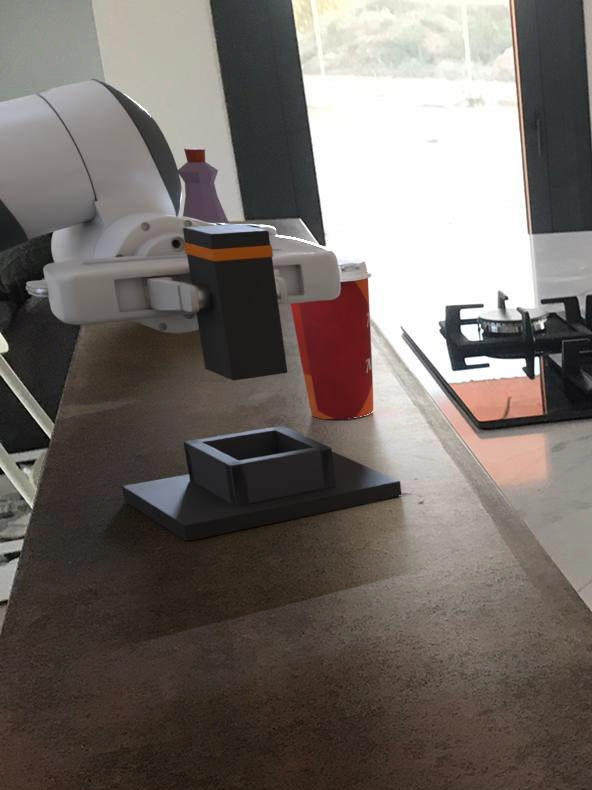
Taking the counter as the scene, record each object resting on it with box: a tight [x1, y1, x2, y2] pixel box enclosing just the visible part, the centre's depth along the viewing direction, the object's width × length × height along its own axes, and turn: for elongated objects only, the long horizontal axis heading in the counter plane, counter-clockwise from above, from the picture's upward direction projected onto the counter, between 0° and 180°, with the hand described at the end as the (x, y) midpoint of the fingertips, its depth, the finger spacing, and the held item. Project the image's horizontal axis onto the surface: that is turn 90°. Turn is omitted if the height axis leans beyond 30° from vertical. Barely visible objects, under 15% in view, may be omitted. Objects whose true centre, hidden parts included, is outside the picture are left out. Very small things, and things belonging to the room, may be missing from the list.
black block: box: [183, 223, 288, 381], centre depth 91 cm, size 4×5×10 cm
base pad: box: [121, 425, 402, 542], centre depth 96 cm, size 16×12×4 cm
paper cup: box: [290, 256, 374, 420], centre depth 119 cm, size 8×8×14 cm
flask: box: [177, 147, 230, 224], centre depth 176 cm, size 16×16×20 cm
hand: (240, 295), depth 90 cm, fingers closed on black block, 4 cm apart
